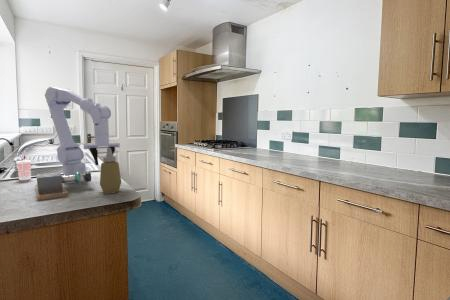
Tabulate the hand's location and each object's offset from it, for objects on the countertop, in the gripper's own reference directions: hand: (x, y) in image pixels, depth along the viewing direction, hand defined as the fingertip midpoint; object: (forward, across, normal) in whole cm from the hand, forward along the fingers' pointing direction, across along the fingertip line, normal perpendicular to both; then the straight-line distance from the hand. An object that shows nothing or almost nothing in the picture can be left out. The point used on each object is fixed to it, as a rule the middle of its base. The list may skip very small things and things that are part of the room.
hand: (103, 164), depth 120 cm
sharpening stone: (+9, -20, 0) cm, 23 cm away
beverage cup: (+10, -28, +36) cm, 47 cm away
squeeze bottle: (+10, 0, -14) cm, 17 cm away
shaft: (+7, -13, 0) cm, 15 cm away
